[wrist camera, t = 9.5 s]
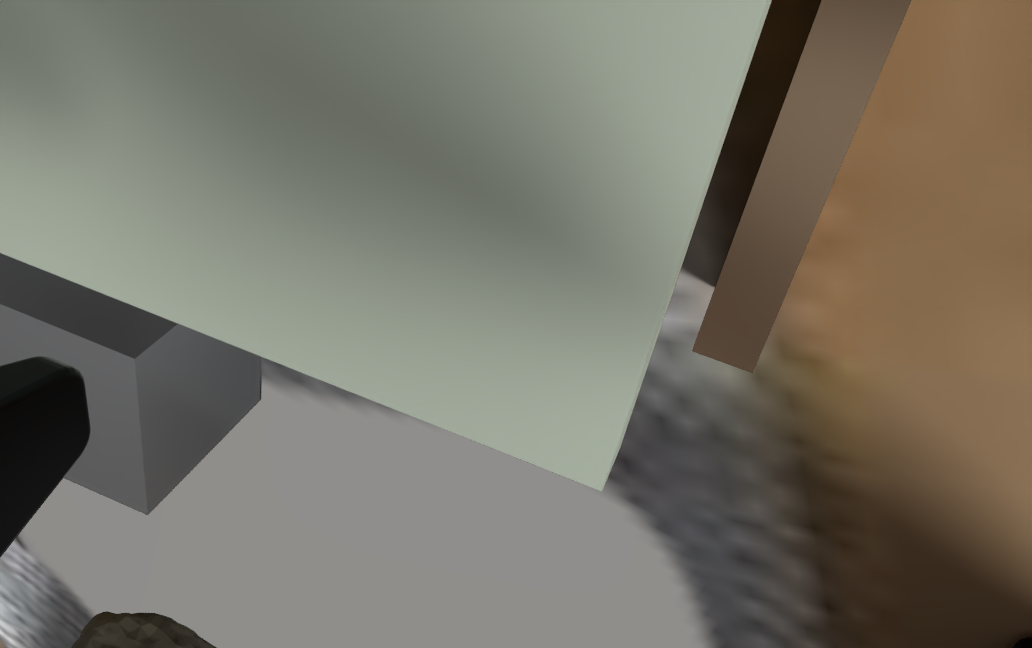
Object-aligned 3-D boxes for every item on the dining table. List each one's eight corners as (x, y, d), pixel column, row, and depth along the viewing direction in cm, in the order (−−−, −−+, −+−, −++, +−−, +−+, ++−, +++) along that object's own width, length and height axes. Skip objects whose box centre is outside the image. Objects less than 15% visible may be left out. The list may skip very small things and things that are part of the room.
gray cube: (261, 399, 27) (147, 515, 23) (114, 339, 28) (-19, 441, 24) (264, 254, 24) (134, 358, 20) (100, 193, 25) (-54, 282, 21)
